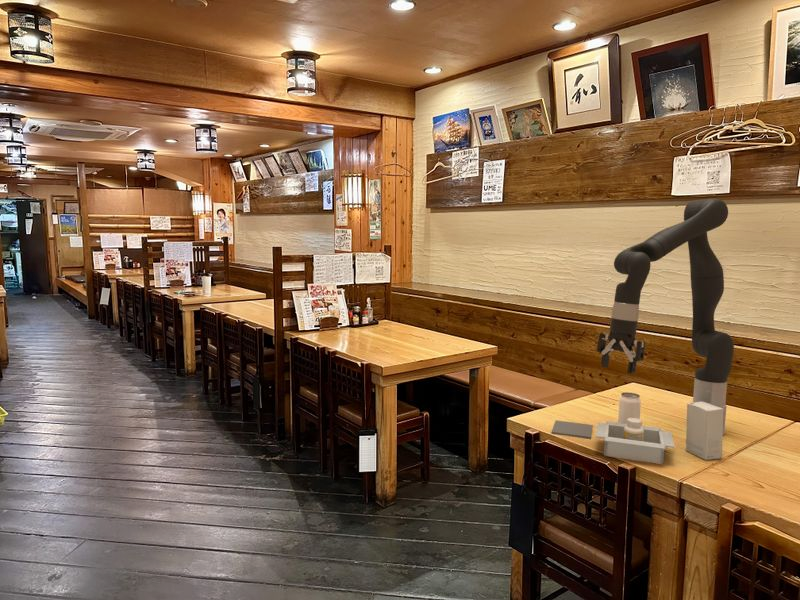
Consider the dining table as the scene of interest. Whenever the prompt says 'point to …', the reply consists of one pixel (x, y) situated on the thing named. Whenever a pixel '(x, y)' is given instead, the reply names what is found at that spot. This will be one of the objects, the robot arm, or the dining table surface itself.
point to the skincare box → (704, 430)
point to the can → (629, 407)
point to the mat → (572, 429)
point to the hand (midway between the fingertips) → (617, 370)
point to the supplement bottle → (634, 430)
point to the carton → (634, 442)
